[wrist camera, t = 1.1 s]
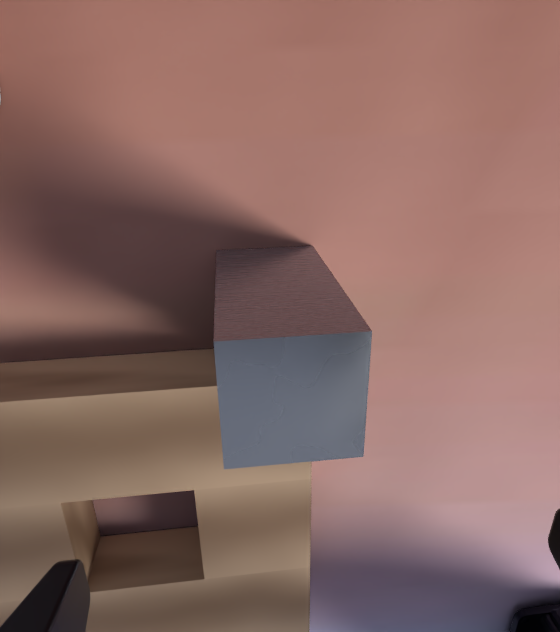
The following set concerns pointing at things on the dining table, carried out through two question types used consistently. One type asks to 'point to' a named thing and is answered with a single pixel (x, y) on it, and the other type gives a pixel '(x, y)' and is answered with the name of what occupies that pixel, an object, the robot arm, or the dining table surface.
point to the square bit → (287, 359)
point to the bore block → (143, 479)
